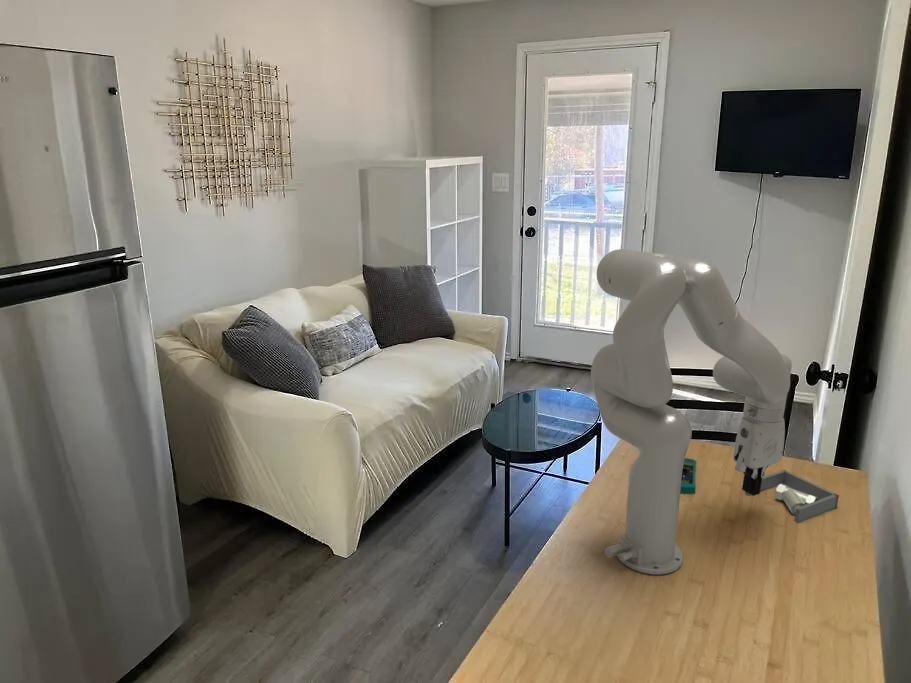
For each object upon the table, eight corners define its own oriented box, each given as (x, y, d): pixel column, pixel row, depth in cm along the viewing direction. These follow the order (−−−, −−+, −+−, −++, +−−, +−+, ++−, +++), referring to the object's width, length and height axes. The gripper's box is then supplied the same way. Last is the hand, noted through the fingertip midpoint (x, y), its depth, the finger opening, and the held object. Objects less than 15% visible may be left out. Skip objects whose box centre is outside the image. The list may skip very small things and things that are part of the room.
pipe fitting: (803, 522, 141) (817, 509, 145) (805, 506, 140) (819, 494, 144) (766, 507, 147) (781, 495, 151) (768, 492, 146) (783, 480, 150)
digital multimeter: (661, 492, 154) (662, 480, 153) (665, 464, 167) (666, 453, 166) (694, 497, 151) (695, 486, 150) (695, 468, 165) (696, 458, 164)
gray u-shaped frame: (797, 522, 140) (799, 509, 139) (744, 493, 152) (746, 482, 151) (836, 507, 145) (838, 495, 144) (782, 481, 157) (784, 469, 156)
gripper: (753, 423, 130) (740, 507, 134) (803, 412, 136) (789, 493, 141) (723, 410, 136) (711, 491, 141) (772, 401, 143) (759, 478, 147)
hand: (750, 492), depth 141 cm, fingers closed
